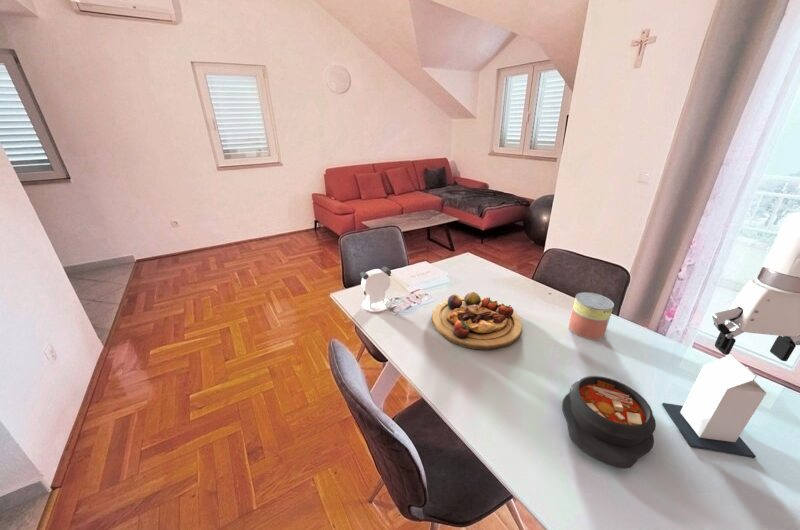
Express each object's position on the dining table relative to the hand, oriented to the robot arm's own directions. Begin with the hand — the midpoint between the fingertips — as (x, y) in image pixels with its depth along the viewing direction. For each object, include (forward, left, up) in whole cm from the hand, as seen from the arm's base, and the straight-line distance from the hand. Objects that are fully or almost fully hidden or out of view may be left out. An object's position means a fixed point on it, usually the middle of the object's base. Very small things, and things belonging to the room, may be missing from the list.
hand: (748, 353), depth 65 cm
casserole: (+23, +4, -23) cm, 33 cm away
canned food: (+15, -37, -23) cm, 46 cm away
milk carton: (0, 0, -22) cm, 22 cm away
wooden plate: (+53, -33, -23) cm, 67 cm away
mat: (0, 0, -22) cm, 22 cm away
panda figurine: (+92, -38, -23) cm, 102 cm away
